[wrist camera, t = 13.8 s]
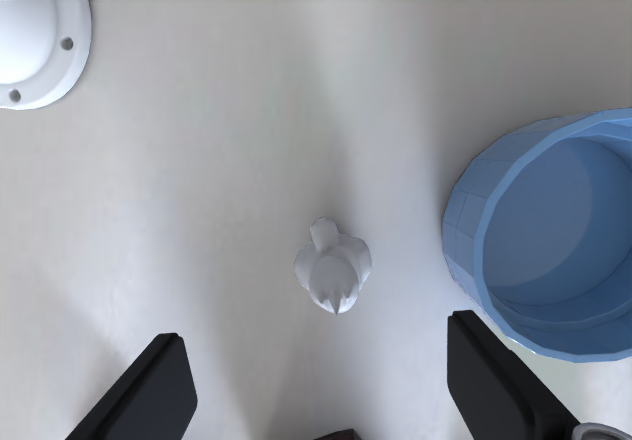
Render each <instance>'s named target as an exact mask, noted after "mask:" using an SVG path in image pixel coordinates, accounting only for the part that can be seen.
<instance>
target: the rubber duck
mask: <svg viewBox="0 0 632 440" xmlns="http://www.w3.org/2000/svg"><path fill="white" fill-rule="evenodd" d="M310 233H311V237H312V241H311V242H310V243H308V244H307V245H306V246H305V247H304V248H303V249H302V250H301V251H300V252H299V253H298V254H297V256H296V258H295V260H294V268H295V272H296V275H297V279H298V281H299V282H300V284H301V285H302V286H303V287H305V288H306V289H308V290H309V291H310V295H311V297H312V299H313V301H314V302H315V303H316V304H317V305H319V306H321V307H322V308H324V309H326V310H328V311H330V312H333V313H335V314H336V315H337V314H338V313H343V312H345V311H347V310H348V309H350V308H351V307H352V305H353V304H354V302H355V301H356V299H357V297H358V294H359V290H360V289H361V288H362V286H363V282H364V281H365V280H366V278H367V277H368V275H369V273H370V271H371V268H372V260H371V256H370V251H369V248H368V246H367V244H366V243H365V242H364V241H363V240H361V239H359V238H354V237H351V236H349V235H345V234H340V233H338V229H337V226H336V224H335V223H334V222H333V221H332V220H331V219H329V218H326V217H322V218H319V219H318V220H317V222H315V223H314V224H313V225H312V227H311V229H310Z"/></svg>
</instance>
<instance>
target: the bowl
mask: <svg viewBox="0 0 632 440" xmlns="http://www.w3.org/2000/svg"><path fill="white" fill-rule="evenodd" d="M442 239H443V254H444V256H445V259H446V262H447V264H448V267H449V270H450V273H451V275H452V278H453V279H454V280H455V282H456V283H457V284H458V285H459V286H460V287H461V289H462V290H463V291H464V292H465V293H466V295H467V296H468V297H469V298H470V299H471V300H472V301H473V302H474V303H475V304H476V305H477V306H478V308H479V309H480V310H481V311H482V312H483V313H484V314H485V315H486V316H487V317H488V318H489V319H490V320H491V321H492V322H493V323H494V324H495V325H496V326H497V327H498V328H499V329H500V330H501V331H502V333H503V334H504V335H505V336H507V337H508V338H510V339H511V340H513V341H515V342H517V343H518V344H520V345H522V346H523V347H525V348H527V349H529V350H530V351H532V352H534V353H536V354H538V355H542V356H546V357H551V358H555V359H560V360H564V361H569V362H573V363H586V362H606V361H617V360H621V359H624V358H627V357H631V356H632V107H628V108H619V109H609V110H601V111H595V112H588V113H582V114H576V115H570V116H563V117H557V118H551V119H544V120H539V121H536V122H534V123H531V124H529V125H526V126H524V127H522V128H519V129H517V130H515V131H512V132H510V133H507V134H505V135H504V136H502V137H500V138H499V139H498V140H497V141H495V142H494V143H493V144H492V145H490V146H489V147H488V148H487V149H485V150H484V151H483V152H482V153H481V154H479V155H478V156H477V157H476V158H474V159H473V160H472V162H471V163H470V164H469V166H468V167H467V169H466V170H465V172H464V173H463V174H462V176H461V177H460V179H459V180H458V181H457V183H456V184H455V186H454V187H453V189H452V192H451V195H450V198H449V202H448V205H447V208H446V211H445V214H444V217H443V221H442Z"/></svg>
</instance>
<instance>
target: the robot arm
mask: <svg viewBox="0 0 632 440" xmlns="http://www.w3.org/2000/svg"><path fill="white" fill-rule="evenodd" d="M90 44H91V14H90V8H89V1H88V0H0V108H9V109H17V110H24V109H36V108H39V107H42V106H46V105H49V104H51V103H52V102H54V101H56V100H57V99H59V98H61V97H62V96H63V95H64V94H65V93H67V92H68V91H69V90H70V89H71V88H72V87H73V86H74V84H75V83H76V81H77V80H78V78H79V76H80V75H81V73H82V71H83V69H84V66H85V64H86V61H87V58H88V55H89V49H90ZM447 384H448V388H449V392H450V394H451V396H452V398H453V400H454V402H455V404H456V406H457V408H458V409H459V411H460V413H461V415H462V417H463V419H464V421H465V423H466V425H467V427H468V429H469V431H470V433H471V435H472V436H473V438H474V440H632V436H630V435H629V434H626V433H624V432H622V431H620V430H618V429H616V428H613V427H610V426H607V425H603V424H598V423H590V422H589V423H582V424H581V423H580V422H579V421H578V420H577V419H576V418H575V417H574V416H573V415H572V414H571V413H570V411H569V410H568V409H567V408H566V407H565V406H564V405H563V404H562V403H561V402H560V401H559V400H558V399H557V398H556V396H555V395H554V394H553V393H552V392H551V391H550V390H549V389H548V388H547V387H546V386H545V385H544V384H543V383H542V382H541V380H540V379H539V378H538V377H537V376H536V375H535V374H534V373H533V372H532V371H531V370H530V369H529V368H528V367H527V365H526V364H525V363H524V362H523V361H522V360H521V359H520V358H519V357H518V356H517V355H516V354H515V353H514V352H513V351H512V350H509V349H508V348H507V347H506V346H505V345H504V344H503V343H502V342H501V341H500V340H499V339H498V337H497V336H496V335H495V334H494V333H493V332H492V331H491V330H490V329H489V328H488V327H487V325H486V324H485V323H484V322H483V321H482V320H481V319H480V318H479V317H478V316H477V315H476V314H475V312H474V311H472V310H463V311H454V312H453V314H452V316H449V317H448V333H447ZM196 407H197V394H196V390H195V386H194V382H193V378H192V374H191V369H190V365H189V361H188V357H187V353H186V349H185V345H184V340H183V338H182V337H179V336H178V334H177V333H165V334H158V335H157V336H156V337H155V338H154V339H153V341H152V342H151V343H150V344H149V345H148V346H147V347H146V348H145V350H144V351H143V352H142V353H141V354H140V355H139V356H138V357H137V359H136V360H135V361H134V362H133V363H132V364H131V365H130V367H129V368H128V369H127V370H126V371H125V372H124V373H123V374H122V376H121V377H120V378H119V379H118V380H117V381H116V382H115V384H114V385H113V386H112V387H111V388H110V389H109V390H108V391H107V393H106V394H105V395H104V396H103V397H102V398H101V399H100V400H99V402H98V403H97V404H96V405H95V406H94V407H93V408H92V410H91V411H90V412H89V413H88V414H87V415H86V416H85V417H84V419H83V420H82V421H81V422H80V423H79V424H78V425H77V427H76V428H75V429H74V430H73V431H72V432H71V433H70V434H69V436H68V437H67V438H66V439H65V440H181V439H182V437H183V435H184V433H185V431H186V429H187V427H188V425H189V423H190V421H191V419H192V417H193V415H194V412H195V410H196Z"/></svg>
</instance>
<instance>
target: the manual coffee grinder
mask: <svg viewBox="0 0 632 440" xmlns="http://www.w3.org/2000/svg"><path fill="white" fill-rule="evenodd" d="M315 440H361V439H360V437H359V436H358V435H357V433H356V432H355V431H354V430H353V429H350V430H345V431H339V432H335V433H332V434H329V435H326V436H323V437H320V438H317V439H315Z"/></svg>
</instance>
